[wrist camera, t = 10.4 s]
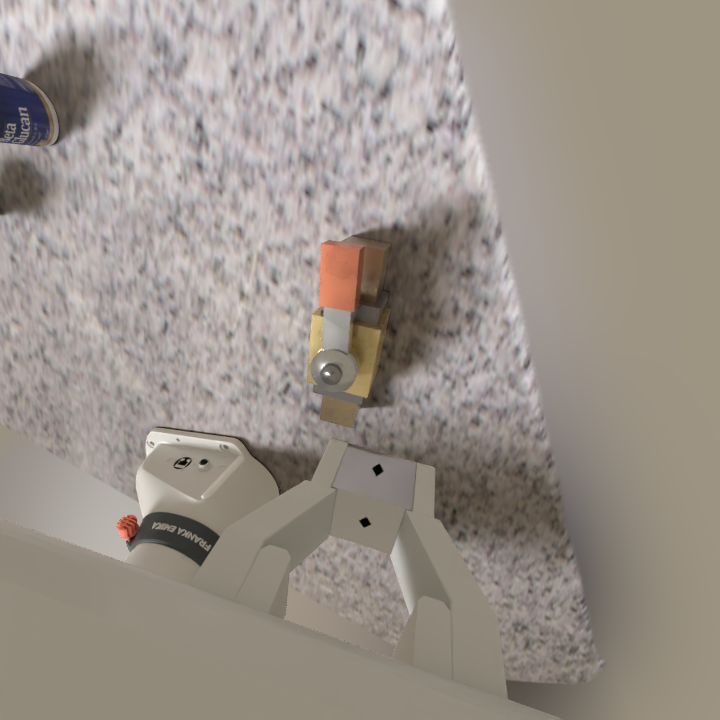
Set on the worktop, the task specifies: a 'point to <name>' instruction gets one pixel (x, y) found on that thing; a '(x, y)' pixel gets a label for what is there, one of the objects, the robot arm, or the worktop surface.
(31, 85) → the pill bottle
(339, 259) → the lever
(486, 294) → the worktop surface
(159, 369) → the worktop surface
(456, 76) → the worktop surface
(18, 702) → the robot arm
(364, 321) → the valve
